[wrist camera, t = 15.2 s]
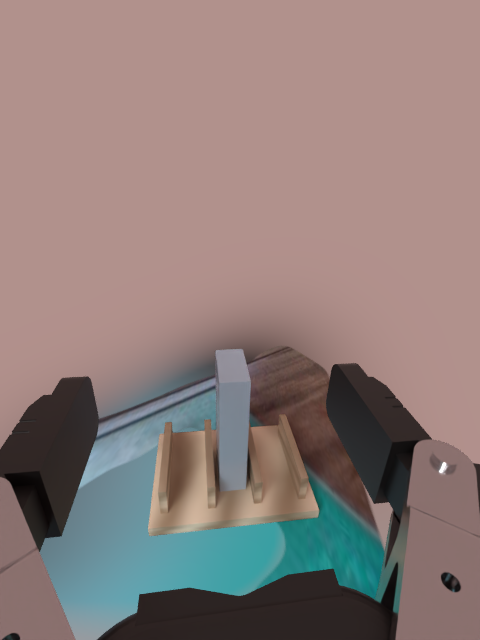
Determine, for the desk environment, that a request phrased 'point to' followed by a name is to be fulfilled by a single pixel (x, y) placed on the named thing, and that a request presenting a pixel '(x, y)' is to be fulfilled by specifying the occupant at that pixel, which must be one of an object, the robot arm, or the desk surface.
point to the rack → (236, 505)
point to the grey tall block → (232, 418)
